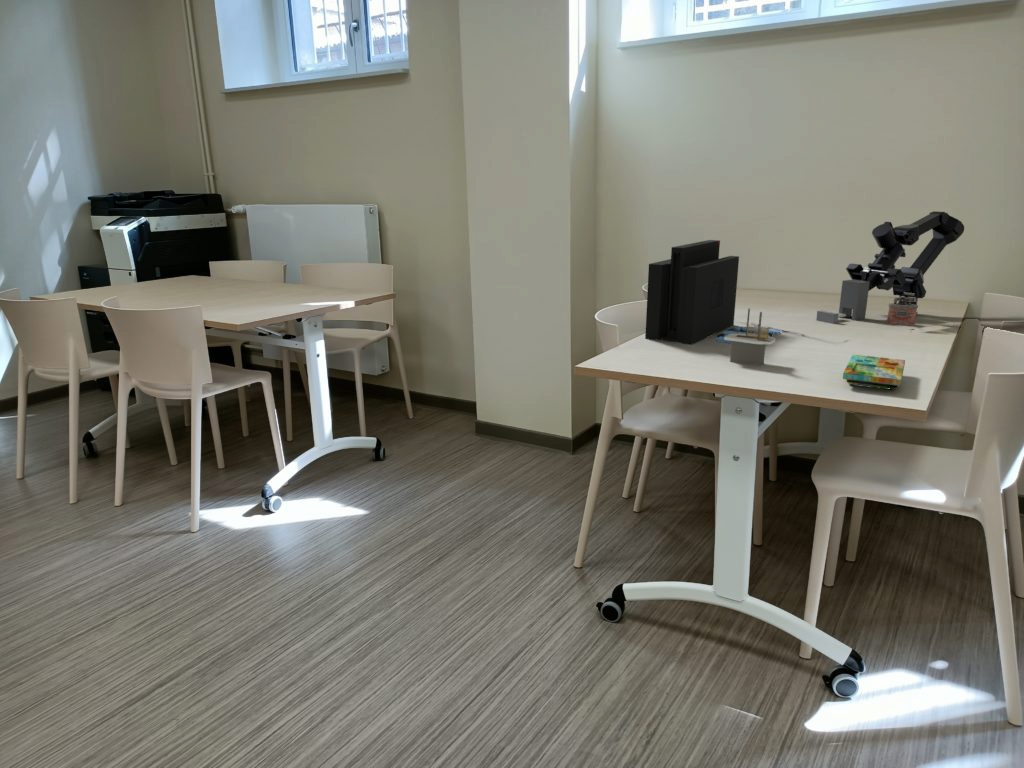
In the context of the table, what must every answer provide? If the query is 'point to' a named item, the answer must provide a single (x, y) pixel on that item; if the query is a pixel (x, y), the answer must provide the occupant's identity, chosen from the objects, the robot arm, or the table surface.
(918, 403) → the table surface
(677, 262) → the game console
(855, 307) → the plug
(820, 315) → the header
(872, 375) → the puzzle game
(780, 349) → the table surface
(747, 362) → the architectural model
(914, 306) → the lighter
